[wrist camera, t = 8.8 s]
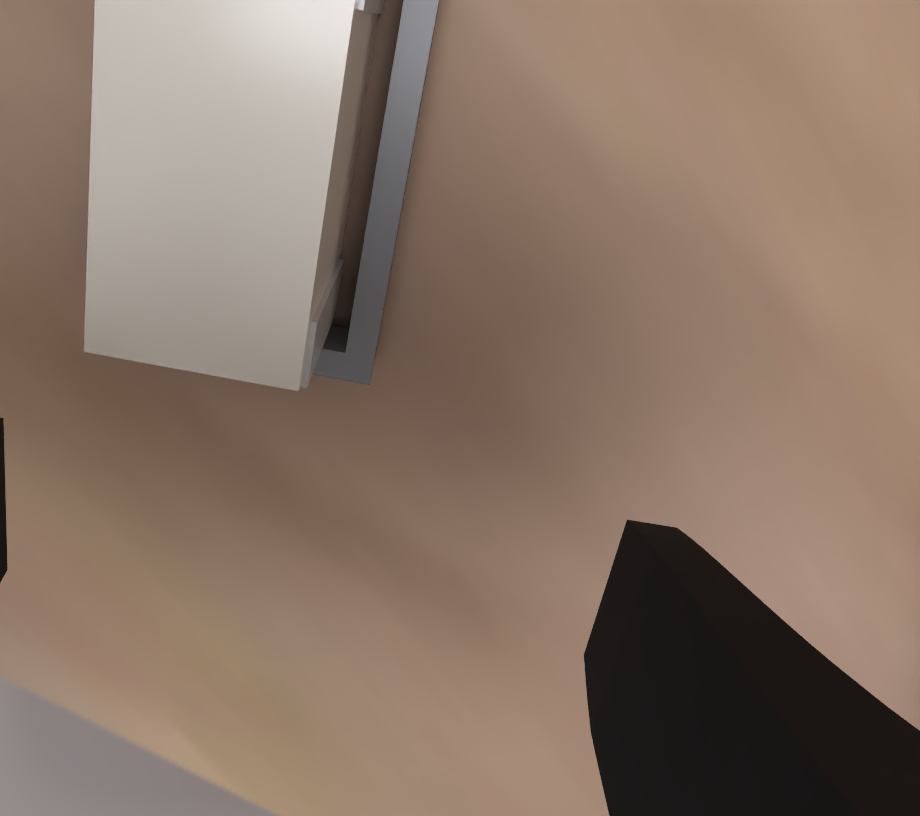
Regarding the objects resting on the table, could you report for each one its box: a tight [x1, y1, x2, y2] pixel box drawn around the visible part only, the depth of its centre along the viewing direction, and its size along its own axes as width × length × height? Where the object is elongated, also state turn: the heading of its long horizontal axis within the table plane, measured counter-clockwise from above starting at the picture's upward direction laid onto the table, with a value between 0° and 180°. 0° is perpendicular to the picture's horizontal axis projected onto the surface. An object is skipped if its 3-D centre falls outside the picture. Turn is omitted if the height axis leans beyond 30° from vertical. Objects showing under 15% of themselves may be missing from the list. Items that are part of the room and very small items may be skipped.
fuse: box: [84, 0, 385, 391], centre depth 15 cm, size 4×7×5 cm, turn 168°
